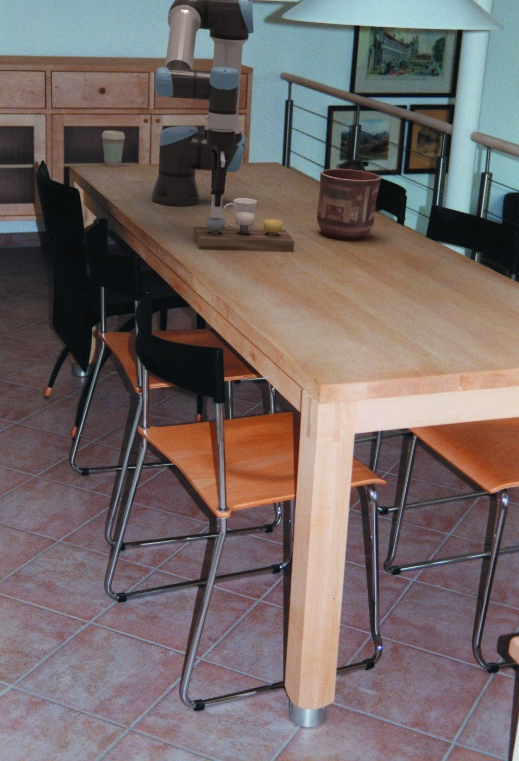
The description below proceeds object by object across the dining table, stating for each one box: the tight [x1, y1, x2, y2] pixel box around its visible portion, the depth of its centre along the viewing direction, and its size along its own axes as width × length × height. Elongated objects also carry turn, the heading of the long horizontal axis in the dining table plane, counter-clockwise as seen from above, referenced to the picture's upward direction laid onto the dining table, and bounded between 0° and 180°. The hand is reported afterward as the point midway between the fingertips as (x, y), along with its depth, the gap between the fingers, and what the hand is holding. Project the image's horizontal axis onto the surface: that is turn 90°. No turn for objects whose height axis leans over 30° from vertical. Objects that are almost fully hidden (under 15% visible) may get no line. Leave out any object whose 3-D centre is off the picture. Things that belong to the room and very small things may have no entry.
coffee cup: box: [101, 130, 126, 168], centre depth 359 cm, size 8×9×12 cm
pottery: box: [316, 168, 382, 241], centre depth 287 cm, size 18×18×18 cm
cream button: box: [234, 212, 255, 234], centre depth 269 cm, size 5×5×5 cm
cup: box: [221, 197, 258, 229], centre depth 287 cm, size 7×10×8 cm
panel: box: [193, 226, 295, 252], centre depth 271 cm, size 12×26×3 cm, turn 101°
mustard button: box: [262, 218, 283, 236], centre depth 271 cm, size 5×5×5 cm
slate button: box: [205, 216, 226, 235], centre depth 268 cm, size 5×5×5 cm
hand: (215, 217), depth 267 cm, fingers closed
